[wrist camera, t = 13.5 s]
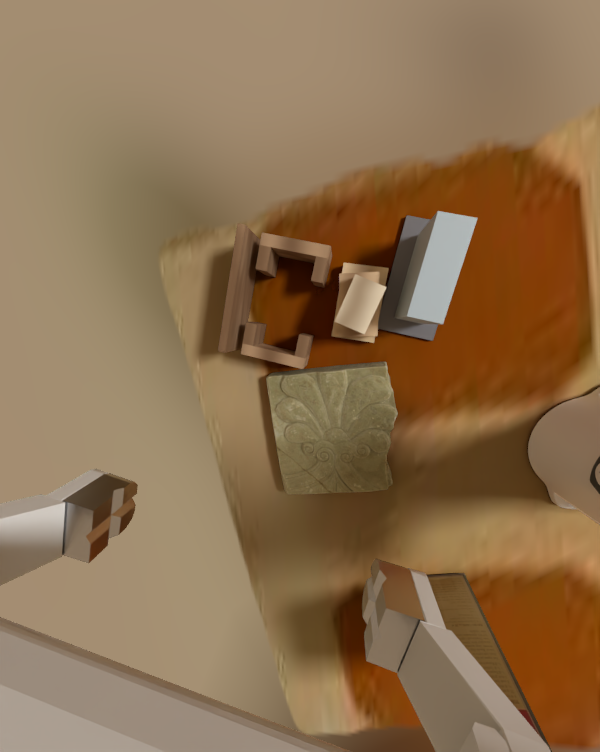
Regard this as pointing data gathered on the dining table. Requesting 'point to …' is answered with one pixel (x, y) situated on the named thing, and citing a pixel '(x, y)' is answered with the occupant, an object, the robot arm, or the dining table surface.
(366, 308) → the offcut top
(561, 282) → the dining table surface
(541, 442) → the robot arm
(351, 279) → the offcut middle
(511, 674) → the food packaging
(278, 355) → the rack
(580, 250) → the dining table surface
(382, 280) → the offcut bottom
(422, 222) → the mat
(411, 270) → the light blue rectangular block
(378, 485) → the decorative tile
